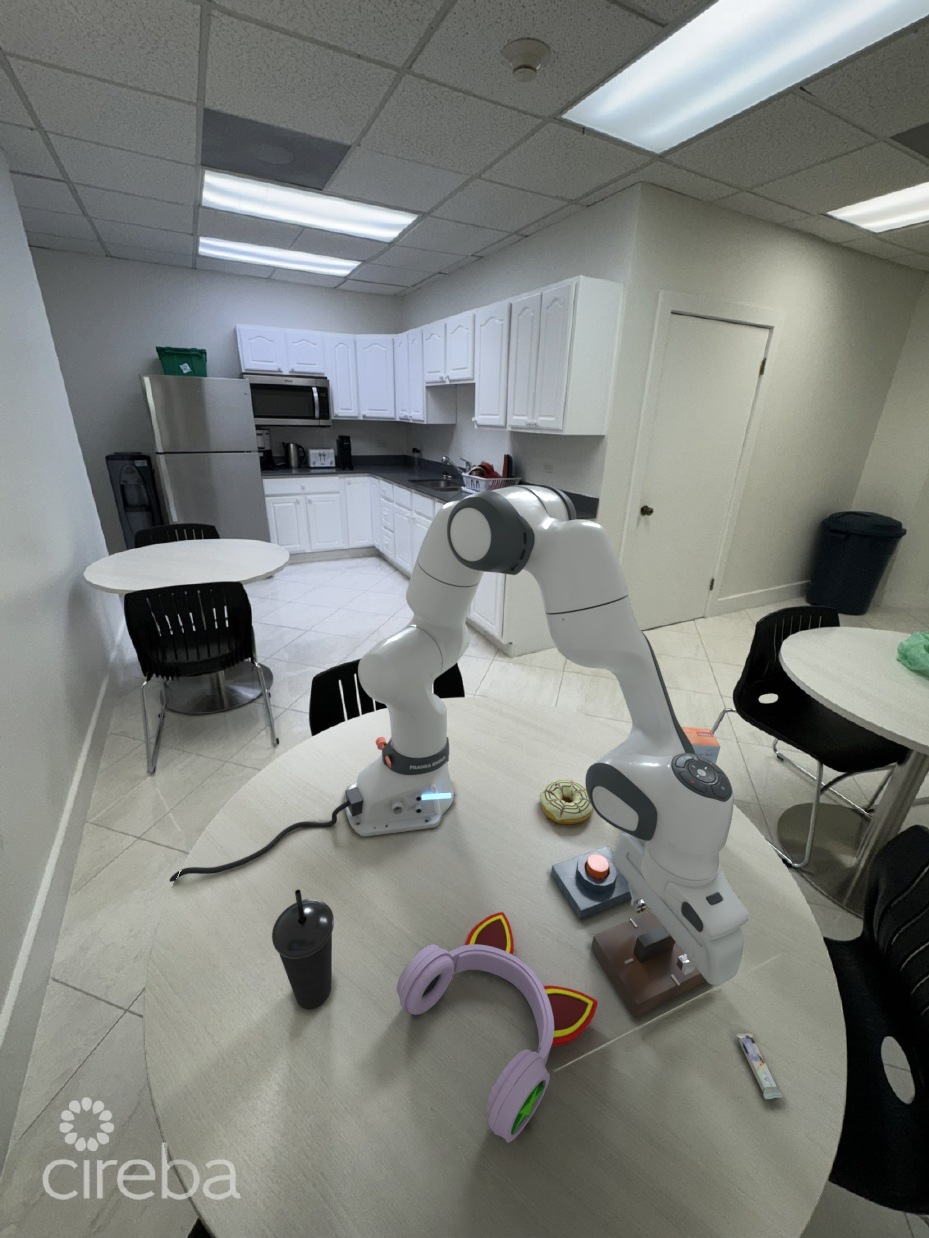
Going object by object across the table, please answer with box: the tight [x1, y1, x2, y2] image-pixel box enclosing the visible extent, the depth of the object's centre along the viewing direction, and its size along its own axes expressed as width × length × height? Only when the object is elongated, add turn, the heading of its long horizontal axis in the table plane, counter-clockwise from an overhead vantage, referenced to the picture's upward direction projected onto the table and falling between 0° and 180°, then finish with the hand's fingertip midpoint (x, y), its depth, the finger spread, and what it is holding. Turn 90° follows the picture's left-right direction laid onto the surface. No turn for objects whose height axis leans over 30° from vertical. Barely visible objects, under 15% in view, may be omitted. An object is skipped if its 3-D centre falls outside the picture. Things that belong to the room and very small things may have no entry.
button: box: [586, 854, 609, 879], centre depth 83 cm, size 4×4×2 cm
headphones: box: [396, 911, 599, 1143], centre depth 65 cm, size 20×10×20 cm
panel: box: [590, 911, 707, 1018], centre depth 73 cm, size 14×10×3 cm
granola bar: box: [735, 1032, 784, 1100], centre depth 62 cm, size 7×2×1 cm, turn 2°
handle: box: [634, 926, 675, 963], centre depth 71 cm, size 6×2×4 cm, turn 112°
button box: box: [550, 845, 632, 920], centre depth 84 cm, size 12×9×4 cm
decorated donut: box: [539, 778, 594, 825], centre depth 101 cm, size 10×11×4 cm
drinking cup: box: [271, 888, 335, 1011], centre depth 65 cm, size 8×8×20 cm
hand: (660, 936), depth 71 cm, fingers open, 8 cm apart
